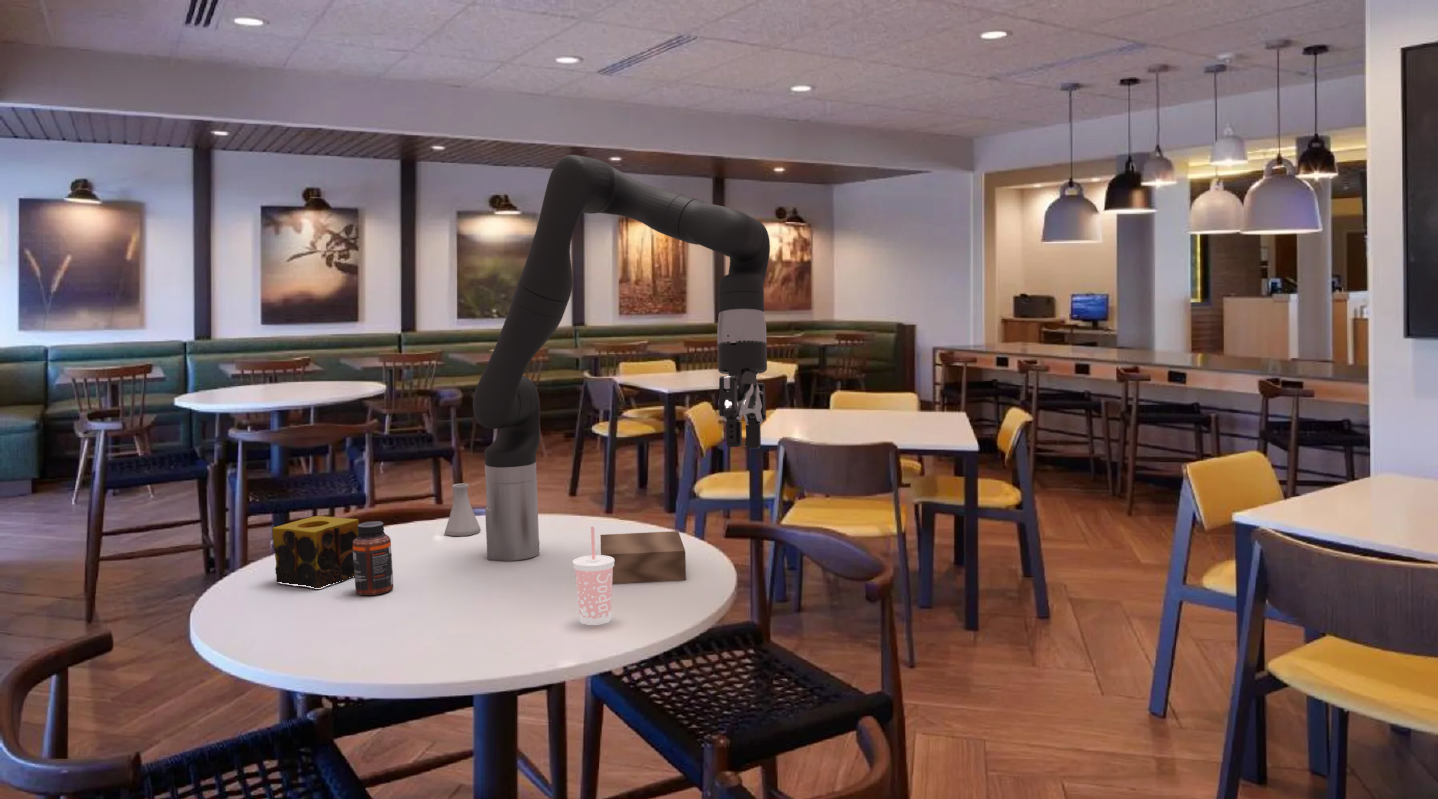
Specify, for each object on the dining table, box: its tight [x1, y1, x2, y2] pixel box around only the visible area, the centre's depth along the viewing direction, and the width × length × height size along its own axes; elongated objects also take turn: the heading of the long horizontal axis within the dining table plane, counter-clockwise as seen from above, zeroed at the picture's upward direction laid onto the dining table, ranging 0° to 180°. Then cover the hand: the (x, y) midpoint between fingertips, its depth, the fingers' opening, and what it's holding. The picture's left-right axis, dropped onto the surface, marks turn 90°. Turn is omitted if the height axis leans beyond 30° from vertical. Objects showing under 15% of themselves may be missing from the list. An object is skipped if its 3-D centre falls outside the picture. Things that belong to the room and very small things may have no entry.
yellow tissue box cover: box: [271, 515, 360, 588], centre depth 170 cm, size 10×10×10 cm
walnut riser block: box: [599, 530, 687, 585], centre depth 171 cm, size 14×14×5 cm
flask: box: [443, 482, 481, 537], centre depth 202 cm, size 7×7×10 cm
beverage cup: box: [572, 526, 615, 626], centre depth 145 cm, size 6×6×14 cm
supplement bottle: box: [353, 520, 394, 596], centre depth 162 cm, size 6×6×11 cm
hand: (744, 447), depth 151 cm, fingers open, 8 cm apart
